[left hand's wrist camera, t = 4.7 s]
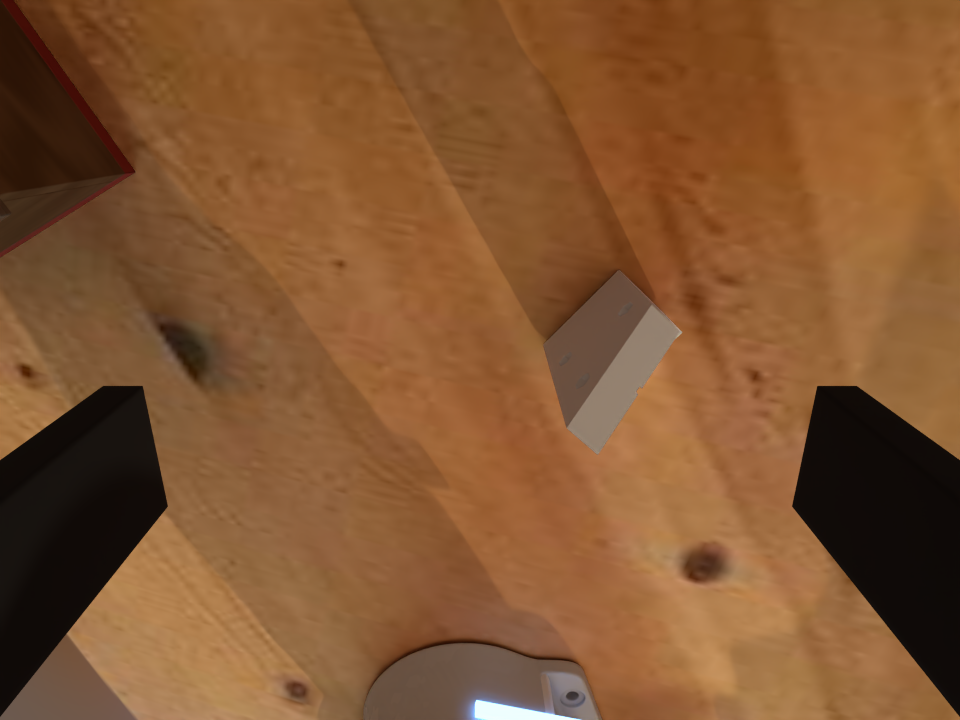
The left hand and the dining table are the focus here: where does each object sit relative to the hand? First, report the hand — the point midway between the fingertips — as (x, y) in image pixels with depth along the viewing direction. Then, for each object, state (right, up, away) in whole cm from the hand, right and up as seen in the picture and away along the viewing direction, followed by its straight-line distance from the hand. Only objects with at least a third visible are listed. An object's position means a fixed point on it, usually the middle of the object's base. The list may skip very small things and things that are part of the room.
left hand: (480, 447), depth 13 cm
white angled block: (+7, +4, +22) cm, 24 cm away
